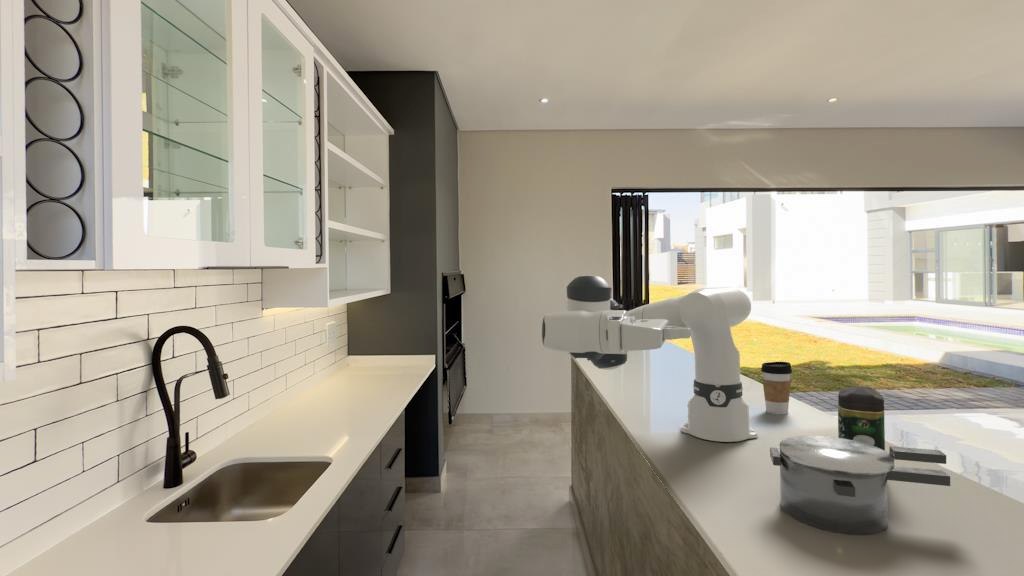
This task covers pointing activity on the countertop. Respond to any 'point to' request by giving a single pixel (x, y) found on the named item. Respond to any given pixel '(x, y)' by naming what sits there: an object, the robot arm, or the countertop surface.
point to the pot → (843, 495)
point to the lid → (851, 455)
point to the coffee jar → (861, 416)
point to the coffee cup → (776, 386)
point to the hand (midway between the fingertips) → (690, 333)
